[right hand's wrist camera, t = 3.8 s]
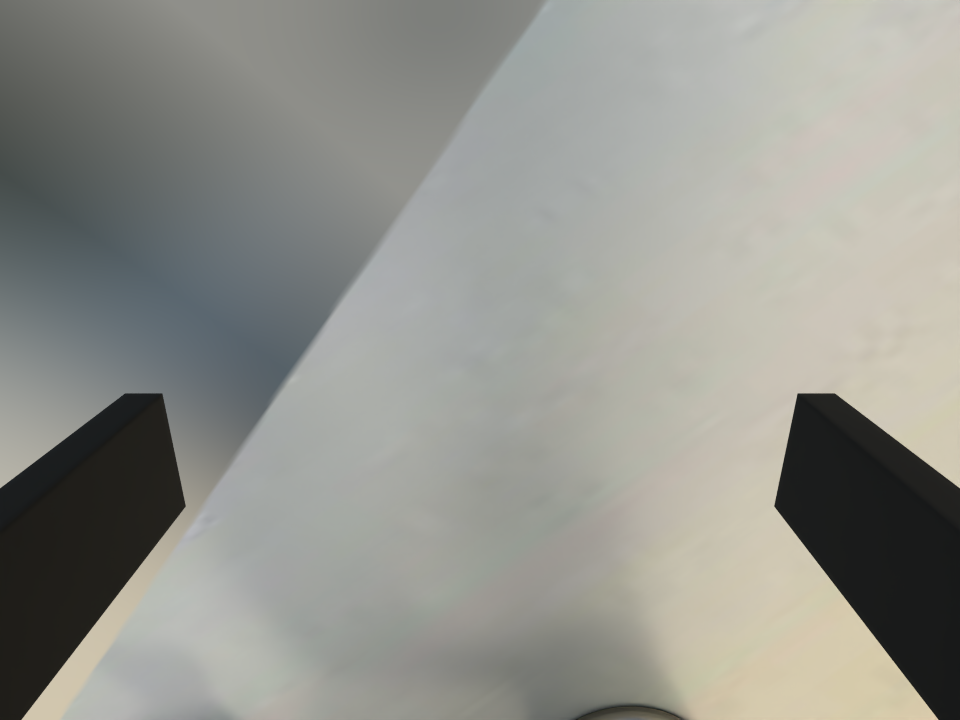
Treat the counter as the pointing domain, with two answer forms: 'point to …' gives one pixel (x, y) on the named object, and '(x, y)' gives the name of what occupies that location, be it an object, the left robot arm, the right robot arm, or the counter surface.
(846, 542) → the right robot arm
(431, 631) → the counter surface
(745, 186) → the counter surface
